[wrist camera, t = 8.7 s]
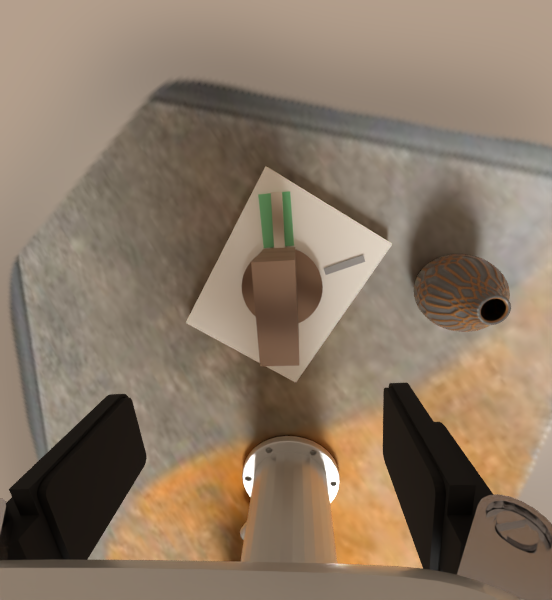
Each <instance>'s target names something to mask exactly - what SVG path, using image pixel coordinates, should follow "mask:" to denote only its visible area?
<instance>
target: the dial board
mask: <svg viewBox="0 0 552 600" xmlns="http://www.w3.org/2000/svg"><path fill="white" fill-rule="evenodd" d="M271 192H282V201H283V220H284V239H285V247H295V249H296V250H299V251H301V252H302V253H304V254H306V255H307V256H308V257H309V258H310V259H311V260H312V261H313V262H314V263H315V265H316V266H317V268H318V270H319V273H320V275H321V279H322V285H323V290H322V297H321V300H320V303H319V305H318V307H317V308H316V310H315V311H314V312H313V313H312V315H311V316H309V317H308V318H307V319H306V320H304V321H302V322H300V323H298V324H299V366H266V367H268V368H270V369H271V370H273V371H275V372H277V373H279V374H281V375H282V376H284V377H286V378H288V379H290V380H292V381H293V382H295V383H296V382H297V380H298V379H299V377H300V376H301V374H302V373H303V372H304V370H305V369H306V367H307V366H308V364H309V363H310V362H311V360H312V359H313V357H314V356H315V354H316V353H317V351H318V350H319V349H320V347H321V346H322V344H323V343H324V341H325V340H326V339H327V337H328V336H329V334H330V333H331V331H332V330H333V328H334V327H335V326H336V324H337V323H338V321H339V320H340V318H341V317H342V316H343V314H344V313H345V311H346V310H347V308H348V307H349V305H350V304H351V303H352V301H353V300H354V298H355V297H356V295H357V294H358V293H359V291H360V290H361V288H362V287H363V285H364V284H365V283H366V281H367V280H368V278H369V277H370V275H371V274H372V272H373V271H374V270H375V268H376V267H377V265H378V264H379V262H380V261H381V260H382V258H383V257H384V255H385V254H386V252H387V251H388V249H389V248H390V247H391V245H392V243H390V242H389V241H387V240H385V239H384V238H382V237H380V236H379V235H377V234H376V233H374V232H372V231H371V230H369V229H367V228H366V227H364V226H363V225H361V224H359V223H358V222H356V221H354V220H353V219H351V218H349V217H348V216H346V215H345V214H343V213H341V212H340V211H338V210H336V209H335V208H333V207H332V206H330V205H328V204H327V203H325V202H323V201H322V200H320V199H319V198H317V197H315V196H314V195H312V194H310V193H309V192H307V191H306V190H304V189H302V188H301V187H299V186H297V185H296V184H294V183H293V182H291V181H289V180H288V179H286V178H284V177H283V176H281V175H279V174H278V173H276V172H275V171H273V170H271V169H270V168H268V167H266V166H265V168H264V170H263V172H262V174H261V176H260V178H259V180H258V182H257V184H256V186H255V188H254V190H253V192H252V194H251V196H250V198H249V200H248V202H247V204H246V206H245V208H244V210H243V211H242V213H241V215H240V217H239V219H238V221H237V223H236V225H235V227H234V229H233V231H232V233H231V235H230V237H229V239H228V241H227V243H226V245H225V247H224V249H223V251H222V253H221V255H220V257H219V258H218V260H217V262H216V264H215V266H214V268H213V270H212V272H211V274H210V276H209V278H208V280H207V282H206V284H205V286H204V288H203V290H202V292H201V294H200V296H199V298H198V300H197V302H196V304H195V305H194V307H193V309H192V311H191V313H190V315H189V317H188V319H187V321H186V323H187V324H189V325H191V326H193V327H194V328H196V329H198V330H200V331H202V332H204V333H205V334H207V335H209V336H211V337H213V338H215V339H216V340H218V341H220V342H222V343H224V344H226V345H227V346H229V347H231V348H233V349H235V350H237V351H238V352H240V353H242V354H244V355H246V356H248V357H249V358H251V359H253V360H255V361H257V362H259V363H260V359H259V348H258V336H257V325H256V317H255V316H254V315H253V314H252V313H251V311H250V310H249V309H248V307H247V306H246V303H245V301H244V298H243V295H242V279H243V275H244V272H245V270H246V268H247V266H248V265H249V264H250V262H251V261H252V260H253V259H254V258H255V257H256V256H257V255H258V254H259V253H260V252H261V251H262V250H263V249H269V248H274V237H273V221H272V205H271Z"/></svg>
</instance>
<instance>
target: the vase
mask: <svg viewBox="0 0 552 600" xmlns="http://www.w3.org/2000/svg"><path fill="white" fill-rule="evenodd" d="M414 297H415V301H416V303H417V305H418V307H419V309H420V311H421V312H422V313H423V314H424V315H425V316H426V317H427V318H428V319H429V320H430V321H432V322H433V323H435V324H436V325H438V326H440V327H443V328H446V329H449V330H453V331H461V332H470V331H476V330H480V329H483V328H485V327H488V326H490V325H495V324H498V323H500V322H502V321H503V320H505V319H506V318H507V316H508V315H509V313H510V310H511V305H510V302H509V297H510V292H509V286H508V283H507V281H506V279H505V277H504V276H503V274H502V273H501V272H500V271H499V270H498V269H497V268H496V267H495V266H494V265H492V264H491V263H490V262H488V261H486V260H484V259H482V258H479V257H476V256H472V255H466V254H452V255H446V256H442V257H440V258H437V259H435V260H433V261H431V262H430V263H428V264H427V265H426V266H425V267H424V268H423V269H422V270H421V271H420V273H419V274H418V276H417V278H416V281H415V285H414Z"/></svg>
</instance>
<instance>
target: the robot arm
mask: <svg viewBox="0 0 552 600" xmlns="http://www.w3.org/2000/svg"><path fill="white" fill-rule="evenodd" d="M383 456H384V460H385V464H386V466H387V469H388V472H389V475H390V477H391V480H392V483H393V486H394V489H395V491H396V494H397V497H398V500H399V502H400V505H401V508H402V511H403V513H404V516H405V519H406V522H407V525H408V527H409V530H410V533H411V536H412V538H413V541H414V544H415V547H416V550H417V552H418V555H419V558H420V561H421V563H422V566H423V569H420V568H410V567H399V566H380V565H355V564H337V557H336V548H335V540H334V531H333V523H332V514H331V506H330V503H331V502H332V500H333V499H334V498H335V496H336V494H337V492H338V489H339V483H340V479H339V472H338V467H337V464H336V462H335V460H334V458H333V457H332V456H331V454H330V453H329V452H328V451H327V450H326V449H325V448H323V447H322V446H321V445H319V444H317V443H315V442H314V441H311V440H308V439H306V438H301V437H296V436H282V437H275V438H272V439H268V440H266V441H264V442H262V443H260V444H259V445H258V446H256V447H255V448H254V449H253V450H252V451H251V452H250V453H249V455H248V457H247V459H246V460H245V464H244V468H243V475H242V477H243V484H244V487H245V490H246V492H247V493H248V495H249V497H250V498H251V499H250V505H249V512H248V518H247V521H246V522H245V524H244V525H243V526H242V528H241V529H240V535H241V537H242V539H243V540H244V543H243V549H242V555H241V561H240V562H233V561H165V560H87V559H88V557H89V556H90V554H91V553H92V551H93V549H94V548H95V546H96V544H97V543H98V541H99V539H100V538H101V536H102V534H103V533H104V531H105V530H106V528H107V526H108V525H109V523H110V521H111V520H112V518H113V516H114V515H115V513H116V511H117V510H118V508H119V507H120V505H121V503H122V502H123V500H124V498H125V497H126V495H127V493H128V492H129V490H130V489H131V487H132V485H133V484H134V482H135V480H136V479H137V477H138V475H139V474H140V472H141V470H142V469H143V467H144V465H145V463H146V452H145V448H144V444H143V441H142V437H141V433H140V429H139V425H138V421H137V418H136V414H135V410H134V406H133V402H132V400H131V398H128V396H127V395H126V394H112V395H108V396H107V397H106V398H105V399H103V400H102V401H101V402H100V403H99V404H98V405H97V406H96V407H95V408H94V409H93V410H92V411H91V412H90V413H89V414H88V415H87V416H86V417H84V418H83V419H82V420H81V421H80V422H79V423H78V424H77V425H76V426H75V427H74V428H73V429H72V430H71V431H70V432H69V433H68V434H67V435H66V436H64V437H63V438H62V439H61V440H60V441H59V442H58V443H57V444H56V445H55V446H54V447H53V448H52V449H51V450H50V451H49V452H48V453H47V454H46V455H44V456H43V457H42V458H41V459H40V460H39V461H38V462H37V463H36V464H35V465H34V466H33V467H32V468H31V469H30V470H29V471H28V472H27V473H26V474H24V475H23V476H22V477H21V478H20V479H19V480H18V481H17V482H16V483H15V484H14V485H13V486H12V487H11V488H10V489H9V491H10V493H11V495H12V498H11V499H10V500H9V501H8V502H7V503H6V501H5V500H3V499H2V498H0V600H552V524H551V523H550V522H549V521H548V520H547V518H546V517H544V516H543V515H542V514H541V513H539V512H538V511H537V510H536V509H534V508H533V507H531V506H529V505H527V504H526V503H524V502H522V501H520V500H517V499H514V498H512V497H509V496H503V495H493V493H492V492H491V491H490V489H489V488H488V486H487V485H486V484H485V482H484V481H483V479H482V478H481V477H480V475H479V474H478V472H477V471H476V469H475V468H474V467H473V465H472V464H471V462H470V461H469V460H468V458H467V457H466V455H465V454H464V452H463V451H462V450H461V448H460V447H459V445H458V444H457V443H456V441H455V440H454V438H453V437H452V436H451V434H450V433H449V431H448V430H447V428H446V427H445V426H444V425H443V424H442V423H441V422H433V420H432V419H431V417H430V416H429V414H428V413H427V411H426V410H425V408H424V407H423V405H422V404H421V402H420V401H419V399H418V398H417V396H416V395H415V393H414V392H413V390H412V389H411V387H410V386H409V384H408V383H390V384H389V388H384V406H383Z"/></svg>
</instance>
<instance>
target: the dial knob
mask: <svg viewBox="0 0 552 600" xmlns="http://www.w3.org/2000/svg"><path fill="white" fill-rule="evenodd" d="M271 205H272V221H273V237H274V248H269V249H263V250H262V251H261V252H260V253H259V254H258V255H257V256H256V257H255V258H254V259H253V260H252V261H251V262H250V264H249V265H248V266H247V268H246V270H245V272H244V275H243V279H242V295H243V298H244V301H245V303H246V306H247V307H248V309H249V310H250V311H251V313H252V314H253V315H254V316H255V317H256V325H257V336H258V348H259V359H260V366H299V324H298V323H300V322H302V321H304V320H306V319H307V318H308V317H309V316H311V315H312V313H313V312H314V311H315V310H316V308H317V307H318V305H319V303H320V300H321V297H322V290H323V285H322V279H321V275H320V273H319V270H318V268H317V266H316V265H315V263H314V262H313V261H312V260H311V259H310V258H309V257H308V256H307V255H306V254H304V253H302V252H301V251H299V250H296V249H295V247H285V239H284V220H283V201H282V192H271Z"/></svg>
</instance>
